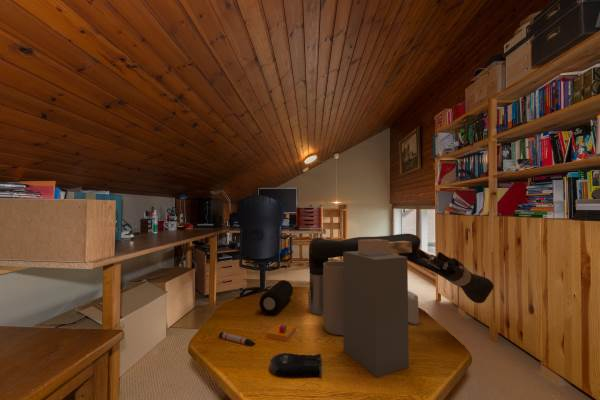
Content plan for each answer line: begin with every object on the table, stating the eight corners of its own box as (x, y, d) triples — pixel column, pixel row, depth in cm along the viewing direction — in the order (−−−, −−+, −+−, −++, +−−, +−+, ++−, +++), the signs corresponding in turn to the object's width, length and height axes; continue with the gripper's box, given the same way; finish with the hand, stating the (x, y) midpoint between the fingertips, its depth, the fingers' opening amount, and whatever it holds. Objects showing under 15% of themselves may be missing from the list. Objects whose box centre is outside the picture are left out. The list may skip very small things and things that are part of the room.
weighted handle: (402, 250, 93) (402, 237, 93) (414, 252, 88) (414, 239, 88) (358, 253, 85) (358, 239, 85) (368, 256, 80) (368, 241, 80)
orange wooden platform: (266, 339, 96) (266, 326, 96) (276, 329, 103) (276, 318, 103) (287, 342, 93) (287, 330, 93) (295, 333, 100) (295, 321, 101)
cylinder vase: (329, 320, 112) (329, 260, 113) (359, 325, 106) (358, 262, 107) (318, 332, 101) (318, 265, 102) (350, 339, 95) (350, 268, 96)
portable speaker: (276, 297, 142) (276, 278, 142) (294, 299, 139) (294, 279, 140) (257, 315, 117) (257, 292, 117) (278, 317, 115) (279, 294, 115)
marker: (218, 338, 95) (218, 333, 95) (222, 336, 97) (222, 330, 97) (253, 348, 89) (253, 342, 89) (257, 346, 90) (257, 340, 90)
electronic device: (319, 365, 82) (271, 357, 82) (322, 348, 81) (273, 340, 82) (320, 389, 72) (266, 380, 73) (323, 370, 72) (268, 361, 72)
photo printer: (392, 317, 115) (391, 288, 115) (397, 315, 117) (397, 287, 118) (415, 325, 107) (414, 294, 107) (420, 323, 109) (419, 292, 110)
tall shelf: (372, 342, 92) (371, 250, 94) (408, 367, 78) (407, 257, 79) (343, 350, 87) (343, 251, 89) (376, 377, 73) (375, 259, 74)
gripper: (440, 259, 107) (414, 241, 102) (476, 266, 94) (449, 245, 89) (434, 277, 105) (408, 259, 100) (470, 286, 92) (442, 266, 87)
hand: (427, 252), depth 94 cm, fingers open, 8 cm apart
